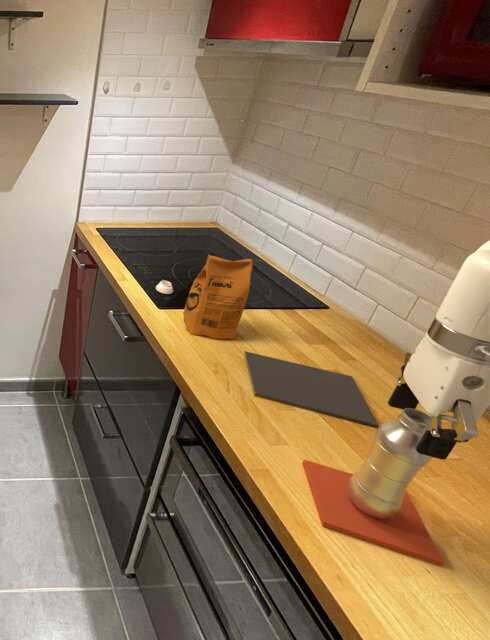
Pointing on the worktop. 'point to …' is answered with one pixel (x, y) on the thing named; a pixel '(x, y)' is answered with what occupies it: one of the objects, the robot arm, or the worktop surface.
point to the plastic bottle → (390, 465)
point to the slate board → (308, 388)
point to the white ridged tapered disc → (164, 287)
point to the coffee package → (218, 298)
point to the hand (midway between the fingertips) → (413, 429)
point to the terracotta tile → (368, 516)
